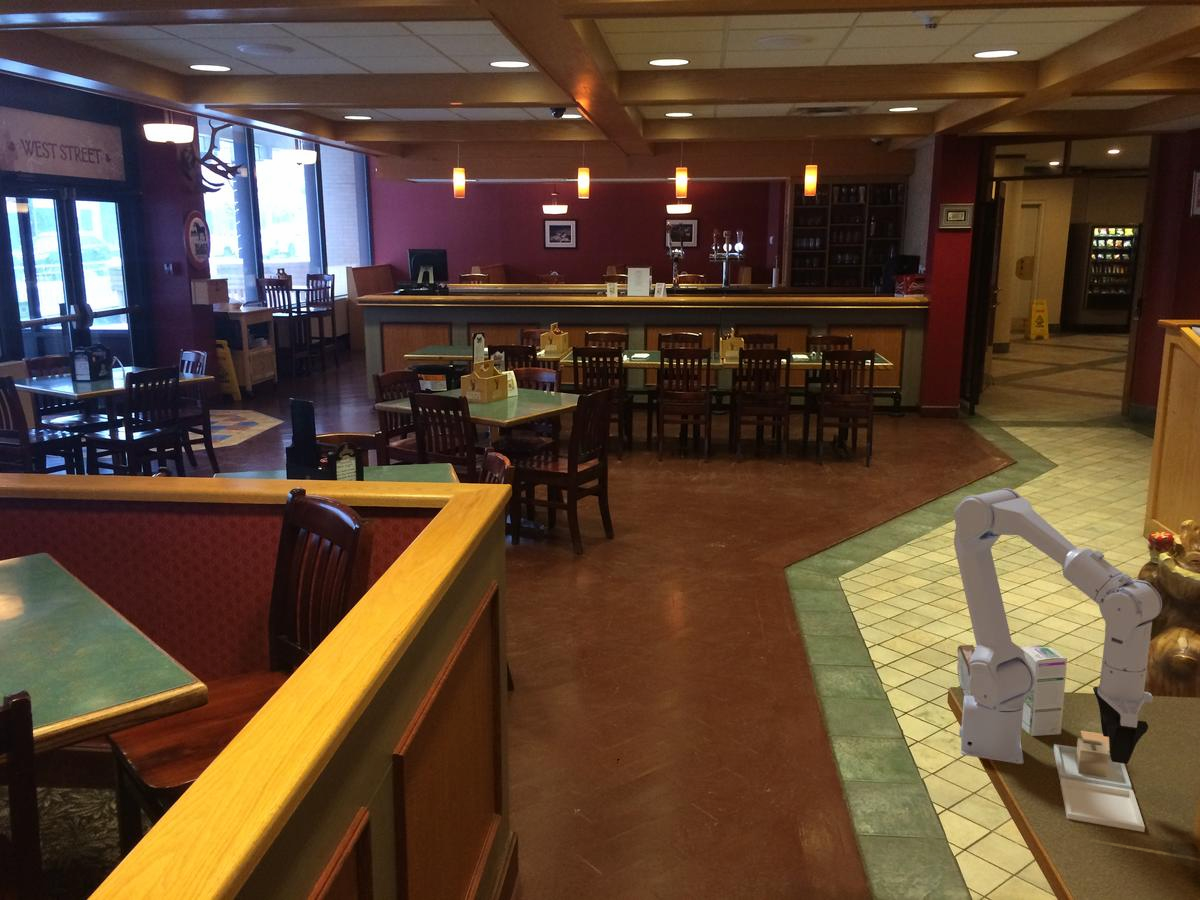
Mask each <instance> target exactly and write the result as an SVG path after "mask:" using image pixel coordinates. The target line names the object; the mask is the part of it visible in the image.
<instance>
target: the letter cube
mask: <svg viewBox="0 0 1200 900" xmlns="http://www.w3.org/2000/svg"><path fill="white" fill-rule="evenodd" d="M1076 747H1077V750H1076V760H1075V761H1076V765H1077V769H1078V773H1082V774H1088V775H1094V776H1100V777H1107V768H1108V759H1109V753H1108V752H1109V751H1108V750H1107V746H1106V743H1105V742H1101V741H1094V740H1087V739H1083V738H1080V737H1077V742H1076Z"/></svg>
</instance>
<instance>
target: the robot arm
mask: <svg viewBox="0 0 1200 900" xmlns="http://www.w3.org/2000/svg"><path fill="white" fill-rule="evenodd" d="M952 514H953V518H954V519H953V520H954V523H955V529H954V530H955V531H954V535H953V545H954V551H955V555H956V559H957V563H958V569H959V574H960V576H961V582H962V587H963V590H964V596H965V600H966V604H967V608H968V613H969V618H970V622H971V625H972V630H973V635H974V640H975V644H976V647H975V651H974V653H973V654H972V656H971V658H970V660H969V662H968V663H969V668H970V676H969V681H968V683H969V689H970V692H971V694H972V695H973V696H964V695H963V702H962V717H961V726H959V733H958V734H959V738H960V754H961V755H963V756H969V757H975V758H980V759H987V760H994V761H997V762H1000V761H1001V762H1006V763H1011V764H1017V765H1023V764H1024V755H1023V747H1022V741H1021V738H1022V729H1023V728H1022V717H1023V706H1024V701H1025V697H1026V693H1028V692H1030V691H1031V690H1032V689H1033V687H1034V684H1035V676H1034V673H1033V670H1032V668H1031V667H1030V665H1029V664H1028V662H1027V661H1026V658H1025V655H1024V651H1023V650H1022V649H1021V648H1020V647H1021V646H1019V645H1017V644H1015V643H1014V642H1013V641H1012V637H1011V636H1012V635H1011V632H1010V628H1009V623H1008V618H1007V615H1006V609H1005V605H1004V602H1003V597H1002V593H1001V592H1002V591H1001V588H1000V584H999V580H998V575H997V571H996V567H995V561H994V557H993V553H992V547H993V546H995V544H996V542H997V541H998V540H999V538H1000V537H1001V536H1002V535H1006V536H1019V537H1021V538H1022V539H1023V540H1025V541H1026V542H1027V543H1029V544H1031V545H1032V546H1033V547H1034V548H1036V549H1037V550H1039V551H1041V553H1043V554H1045V555H1046V556H1048V557H1049V558H1050V559H1052V560H1053V561H1054V562H1056V563H1058V564H1059V565H1060V566H1061V568H1062V576H1063V578H1064V579H1066V580H1067V581H1068V582H1070V583H1071V584H1072V585H1073V586H1074V587H1076V588H1077V589H1078V590H1079V591H1081V593H1083V594H1084V595H1086V597H1088V598H1090V599H1091V600H1092V601H1093V602H1094V603H1096V604H1097V605H1098V607H1099V608H1098V609H1099V612H1100V614H1101V617H1102V619H1103V621H1104V623H1105V625H1104V626H1105V627H1104V641H1103V652H1102V661H1101V668H1100V670H1101V671H1100V677H1099V685H1098V686H1094V687H1093V688H1092V690H1093V693H1094V695H1095V697H1096V701H1097V703H1098V708H1099V714H1100V726H1101V727H1100V728H1101V734H1103V736H1105V737H1109V749H1110V751H1109V752H1110V757H1111V760H1112V762H1117V763H1124V764H1125V765H1128V764H1129V761H1130V760H1131V758H1132V755H1133V752H1134V750H1135V748H1136V745H1137V744H1138V742H1139V740H1140V739H1141V738H1142V737H1143V735H1145V734H1146V733H1148V730H1149V724H1148V723H1147V721H1145V720H1144V721H1143V720H1139V713H1140V710H1141V709H1142V707H1143V705H1144V703H1152V702H1153V699H1154V697H1153V695H1152V693H1150V692H1148V691H1145V688H1146V687H1145V686H1146V679H1147V678H1146V677H1147V670H1148V661H1149V654H1150V645H1151V634H1152V627H1153V621H1152V620H1154V619H1155V618H1156V617H1157V616H1159V615H1160V614H1161V612H1162V609H1163V601H1162V597H1161V594H1160V593H1159V592H1158V590H1157V589H1156V588H1155V587H1154V586H1153V585H1152V584H1151V583H1150V582H1148V581H1145V580H1141V579H1133V578H1132V576H1130V574H1128V573H1123V571H1121V570H1119V569H1118V568H1116V567H1115V566H1114V565H1113V564H1112V563H1110V562H1108V561H1107V560H1106V559H1105V554H1104V553H1102V552H1101V551H1100V550H1093V549H1091V548H1078V547H1076V545H1074V544H1073V543H1072V542H1071V541H1070V540H1068V539H1067V538H1066V537H1065V536H1063V534H1061V533H1060V532H1059V531H1058V530H1057V529H1056V528H1055V527H1054V526H1052V525H1051V524H1050V523H1049V522H1047V521H1046V520H1045V519H1044V518H1043V517H1042V516H1041V515H1040V514H1038V513H1037V512H1036V511H1035V510H1034V509H1033V507H1032V505H1031V502H1030V500H1028V499H1027V498H1025V497H1023V496H1021V495H1020V494H1019V493H1018V492H1017V491H1016V490H1014V489H1012V488H1008V487H1004V488H1000V489H997V490H993V491H989V492H986V493H985V492H984V493H980V494H975V495H968V496H965V497H964V498H963V499H962V500H961V501H960V502H959V503H958V504H957V505H956V507H955V508H954V510H953V512H952Z"/></svg>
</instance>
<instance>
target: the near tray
mask: <svg viewBox="0 0 1200 900" xmlns="http://www.w3.org/2000/svg"><path fill="white" fill-rule="evenodd" d="M1059 784H1060V785H1059V786H1060V788H1061V789H1060V790H1061V794H1062V800H1063V805H1064V809H1065V815H1066V816H1065V817H1066V819H1067V820H1072V821H1073V820H1074V821H1079V822H1083V823H1089V824H1090V823H1091V824H1096V825H1102V826H1107V827H1112V828H1113V827H1114V828H1118V829H1124V830H1128V831H1129V830H1131V831H1135V832H1142V833H1145V829H1146V826H1145V824H1144V820H1143V817H1142V814H1141V811H1140V807H1139V805H1138V802H1137V799H1136V795H1135V793H1134V789H1132V788H1131V789H1125V788H1118V787H1112V786H1106V785H1100V784H1094V783H1088V782H1082V781H1075V780H1069V779H1063V778H1061V779H1060V782H1059Z"/></svg>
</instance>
